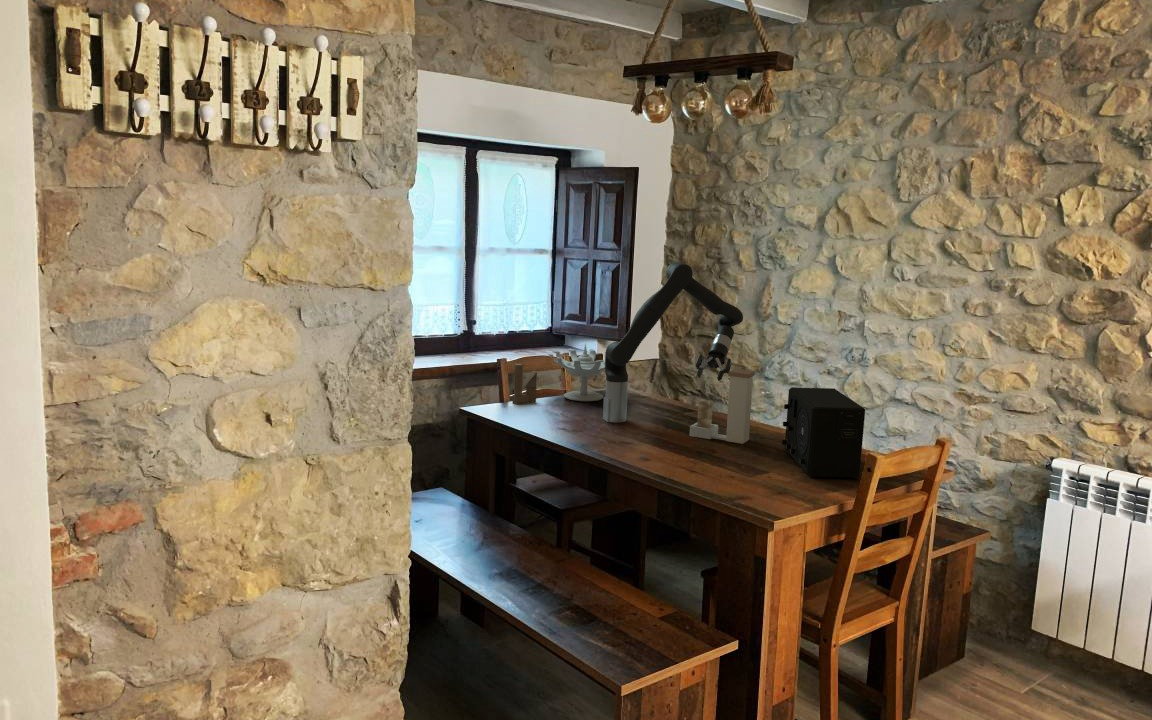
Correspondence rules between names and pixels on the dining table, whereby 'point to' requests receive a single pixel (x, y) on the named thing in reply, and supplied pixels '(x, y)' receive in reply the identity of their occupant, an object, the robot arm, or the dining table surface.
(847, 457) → the vintage radio
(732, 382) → the post
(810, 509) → the dining table surface
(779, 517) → the dining table surface
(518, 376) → the wooden block
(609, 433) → the dining table surface
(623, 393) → the robot arm
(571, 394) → the candelabra
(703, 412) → the block
